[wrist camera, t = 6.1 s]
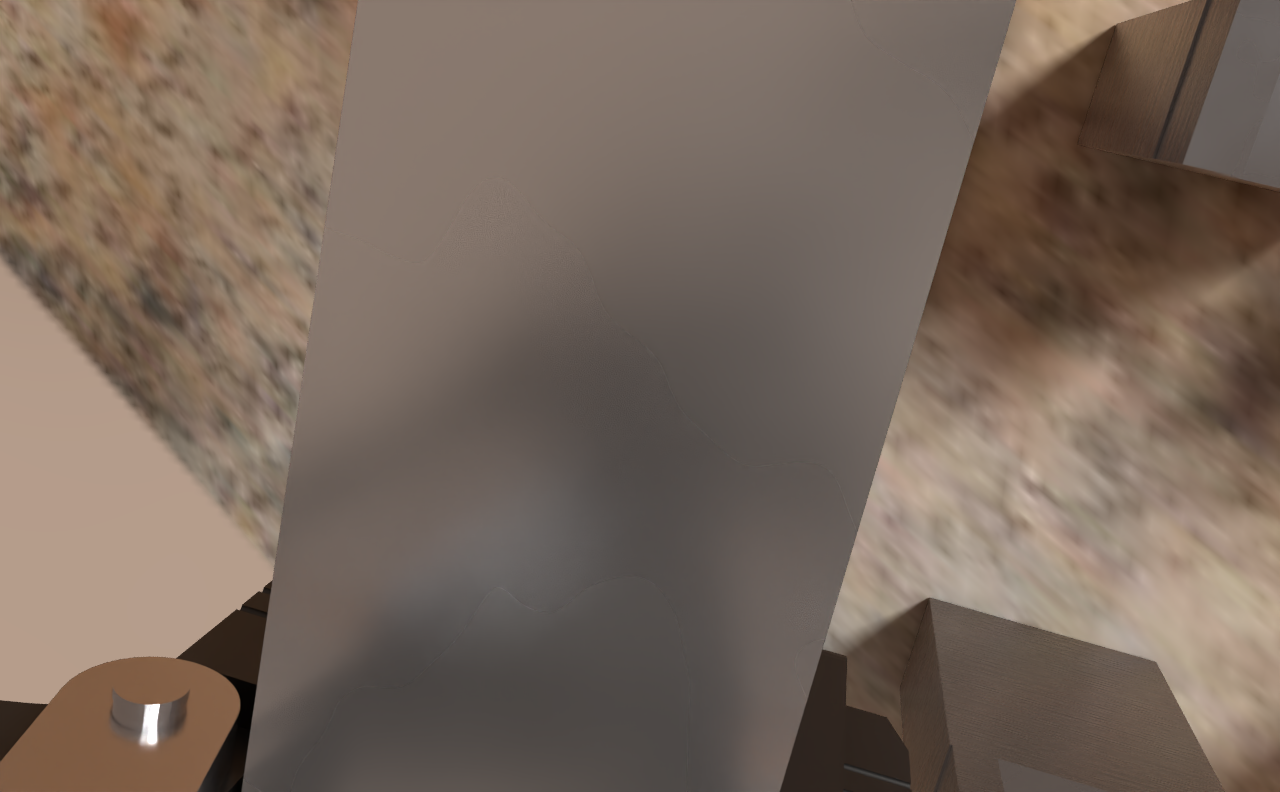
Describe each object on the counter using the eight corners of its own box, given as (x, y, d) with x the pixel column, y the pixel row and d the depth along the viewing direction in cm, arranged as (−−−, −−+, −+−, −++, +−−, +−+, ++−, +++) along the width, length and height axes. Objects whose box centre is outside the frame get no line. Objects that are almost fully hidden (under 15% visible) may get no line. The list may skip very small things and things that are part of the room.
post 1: (929, 597, 33) (957, 795, 24) (1155, 662, 33) (1278, 893, 23) (899, 688, 34) (914, 915, 25) (1120, 753, 33) (1223, 1013, 24)
